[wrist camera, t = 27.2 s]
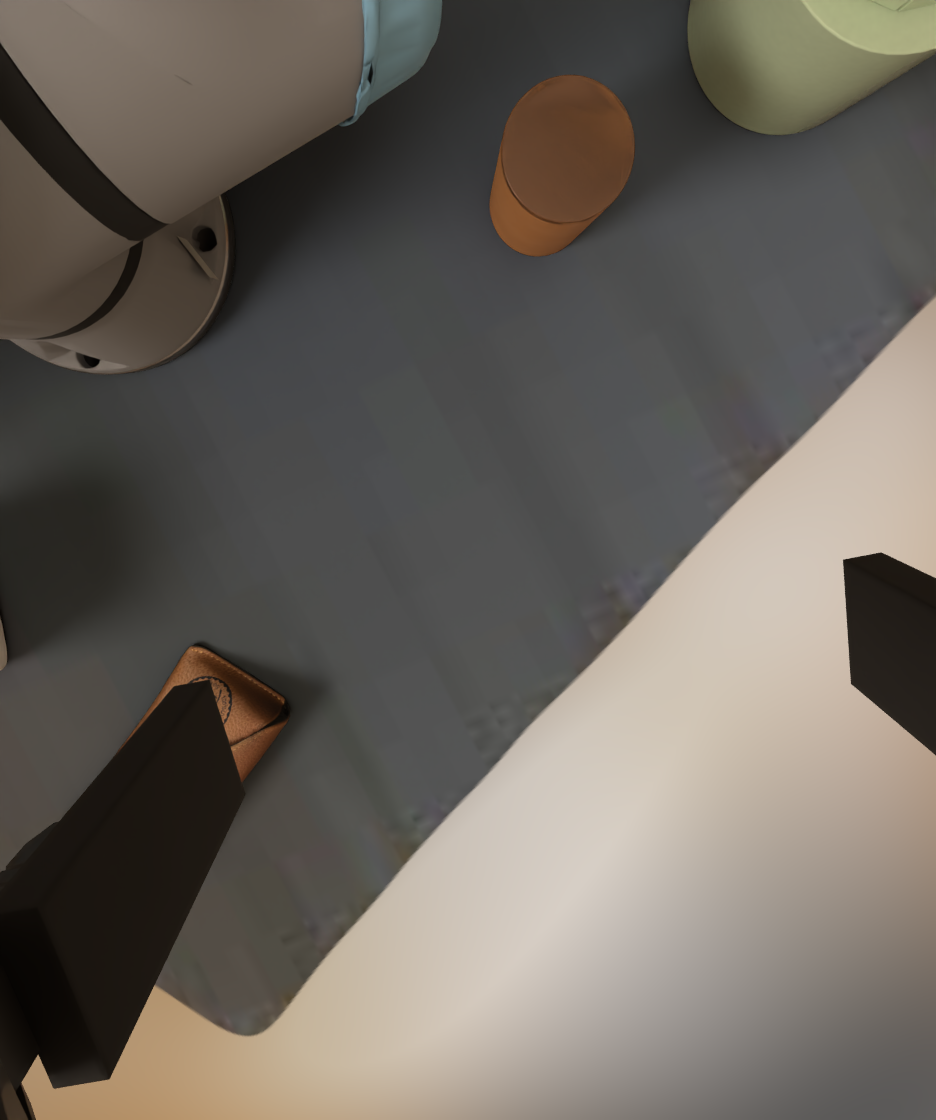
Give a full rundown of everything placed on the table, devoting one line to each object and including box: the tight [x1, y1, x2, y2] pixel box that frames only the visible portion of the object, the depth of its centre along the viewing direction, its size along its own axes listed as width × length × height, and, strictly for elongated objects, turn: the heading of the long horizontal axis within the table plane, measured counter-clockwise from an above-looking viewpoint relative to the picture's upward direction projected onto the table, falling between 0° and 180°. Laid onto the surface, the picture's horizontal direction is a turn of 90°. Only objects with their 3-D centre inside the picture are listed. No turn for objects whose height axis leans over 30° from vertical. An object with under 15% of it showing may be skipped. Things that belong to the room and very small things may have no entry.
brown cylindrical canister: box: [490, 75, 635, 256], centre depth 37 cm, size 6×6×12 cm
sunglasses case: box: [63, 645, 290, 817], centre depth 51 cm, size 18×7×7 cm, turn 143°
